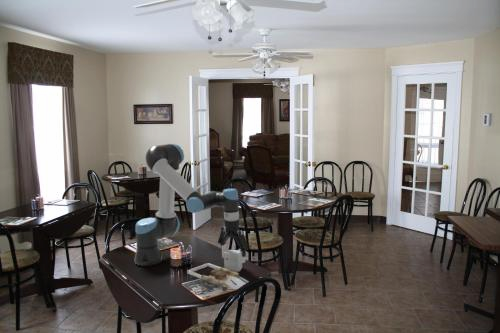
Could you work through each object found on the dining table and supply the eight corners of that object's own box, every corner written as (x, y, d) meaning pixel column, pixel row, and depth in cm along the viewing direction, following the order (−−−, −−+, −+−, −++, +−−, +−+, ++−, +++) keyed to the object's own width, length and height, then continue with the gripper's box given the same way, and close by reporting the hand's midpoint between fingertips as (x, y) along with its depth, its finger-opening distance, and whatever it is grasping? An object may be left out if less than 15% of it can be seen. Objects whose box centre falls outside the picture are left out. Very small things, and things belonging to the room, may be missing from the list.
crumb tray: (187, 275, 218) (186, 270, 218) (208, 267, 228) (207, 262, 228) (201, 281, 211) (201, 276, 210) (222, 272, 221) (222, 267, 220)
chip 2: (215, 278, 211) (214, 273, 211) (220, 275, 214) (220, 271, 214) (220, 280, 208) (220, 275, 208) (226, 277, 211) (226, 273, 211)
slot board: (201, 281, 211) (201, 275, 210) (222, 272, 221) (222, 267, 220) (217, 287, 202) (217, 282, 202) (238, 278, 212) (238, 273, 212)
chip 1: (210, 275, 214) (210, 271, 214) (216, 272, 217) (215, 268, 217) (216, 277, 212) (216, 272, 212) (222, 274, 215) (222, 270, 215)
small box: (242, 269, 224) (241, 250, 222) (239, 274, 218) (238, 254, 217) (227, 268, 226) (227, 249, 225) (224, 272, 221) (223, 252, 219)
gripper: (209, 217, 224) (211, 256, 227) (244, 224, 207) (246, 267, 210) (220, 214, 230) (222, 252, 232) (254, 221, 213) (256, 262, 215)
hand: (233, 259), depth 221 cm, fingers open, 13 cm apart
